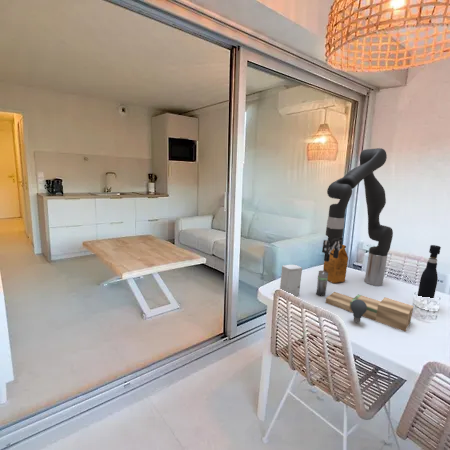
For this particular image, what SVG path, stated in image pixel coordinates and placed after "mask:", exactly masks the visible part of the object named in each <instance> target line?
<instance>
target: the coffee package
mask: <svg viewBox="0 0 450 450" xmlns="http://www.w3.org/2000/svg"><path fill="white" fill-rule="evenodd" d="M346 248H347V246H346V245H344V244H342V249H340V251H339V254H338V258H333V253H334V248H333V250H332V251H331V252H330V258H329V262H326V261H324V262H323V270H322V271H327V272H328V280H327V282H330V283H332V284H336V283H343V282H345V281H346V276H347V269H348V268H347V267H348V262H349V257H348V256H349V255H348V253H347V251H346Z"/></svg>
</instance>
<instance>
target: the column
mask: <svg viewBox="0 0 450 450" xmlns="http://www.w3.org/2000/svg"><path fill="white" fill-rule="evenodd" d="M327 284H328V272H327V271H323V270H318V275H317V284H316V292H315V293H316V295H317V296H318V297H325V296H326V294H327V286H328V285H327Z"/></svg>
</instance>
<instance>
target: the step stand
mask: <svg viewBox="0 0 450 450" xmlns="http://www.w3.org/2000/svg"><path fill="white" fill-rule="evenodd" d="M357 299H359V300H362V301H364V302H365V303H366V305H367V310H366V312H365V313H364V314H363V315H362V317H363V318H366V319H369V320H373V321H375V322H378V323H381V324H384V325H385V326H388V327H392V328H393V329H394V328H395V329H397V330H400V331H402V332H403V331H404V332H406V331H407V329H408V327H409V325H410V324H411V321H412V317H413V316H412V315H413V311H414V305H411V304H409V303H405V302H403V301H400V300H399V301H398V300H395V299H392V298H389V297H383V298H382V299H381V300H378V299H374V298H371V297H368V296H365V295H361V294H357V295H355V297H352V296H349V295H345V294H342V293H340V292H337V291H334V292H332V293H331V294H329V295H328V296H327V297H325V304H328V305H330V306H333V307H336V308H339V309H342V310H344V311H347V312H350V313H353V311H352V309H351V303H352V302H353V301H354V300H357Z"/></svg>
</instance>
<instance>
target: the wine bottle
mask: <svg viewBox="0 0 450 450" xmlns="http://www.w3.org/2000/svg"><path fill="white" fill-rule="evenodd" d="M441 248H442V247H441V246H439V245H436V244H431V245H430V246H429V250H428V252H429V253H430V255H429V258H428V260H427V262H426V267H425V268H424V270H423V271H422V274H421V275H420V280H419V285H418V291H417V295H418V296H422V297H430V298H434V299H435V294H436V291H437V290H436V289H437V285H438V271H437V267H438V255H440V252H441Z"/></svg>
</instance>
